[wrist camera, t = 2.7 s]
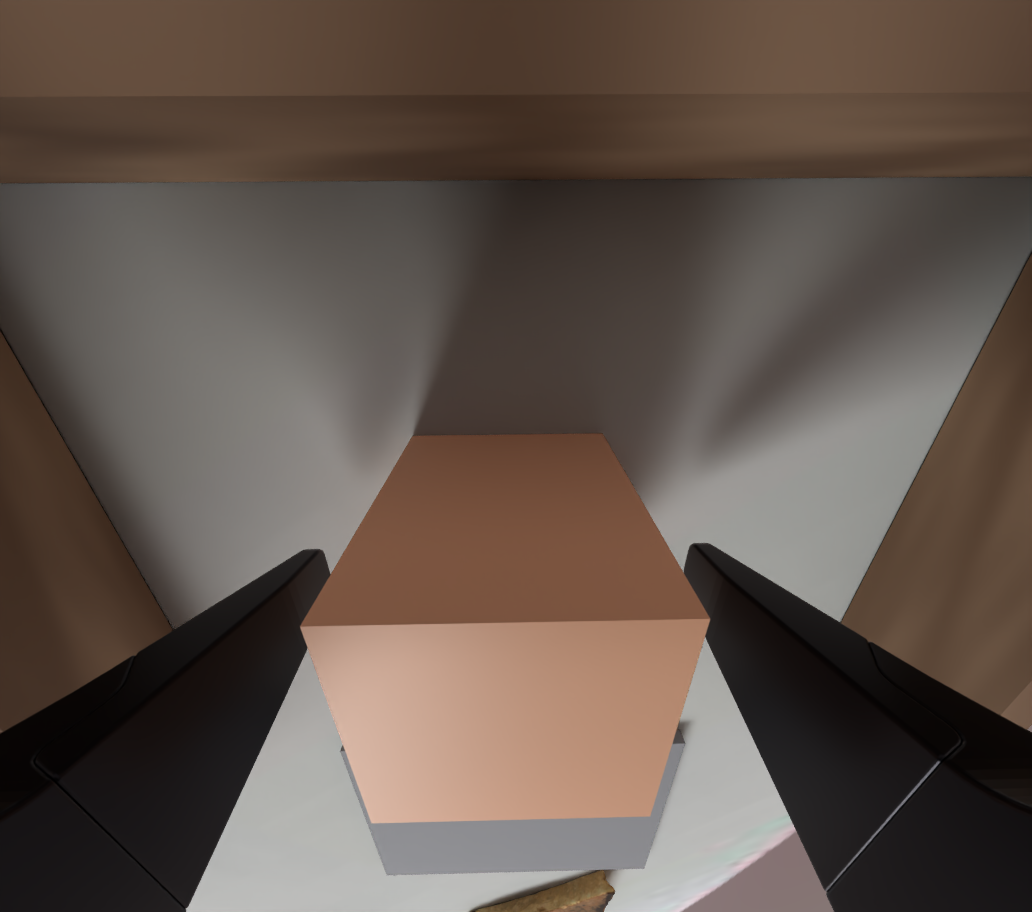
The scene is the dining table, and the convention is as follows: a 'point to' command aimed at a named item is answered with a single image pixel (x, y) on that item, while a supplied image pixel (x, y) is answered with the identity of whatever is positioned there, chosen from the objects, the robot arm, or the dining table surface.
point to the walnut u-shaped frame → (531, 156)
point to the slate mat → (520, 839)
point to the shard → (564, 897)
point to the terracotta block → (506, 635)
